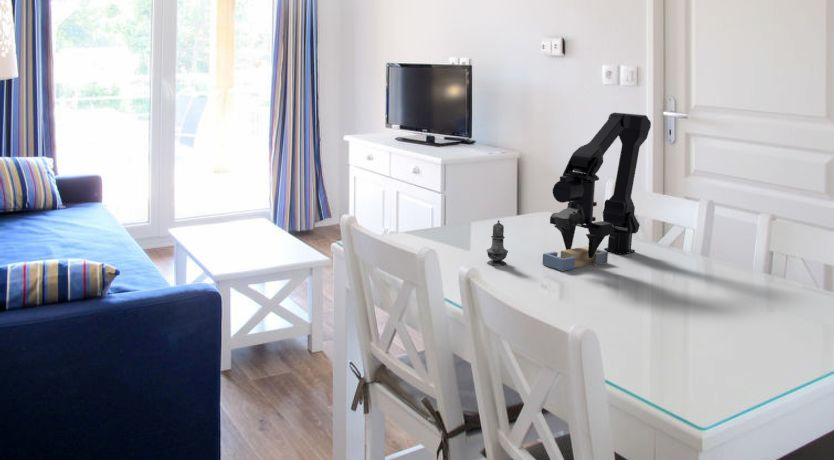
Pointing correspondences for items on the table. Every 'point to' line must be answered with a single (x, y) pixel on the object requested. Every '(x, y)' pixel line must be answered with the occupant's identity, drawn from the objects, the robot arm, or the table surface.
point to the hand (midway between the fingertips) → (579, 254)
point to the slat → (578, 255)
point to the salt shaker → (497, 247)
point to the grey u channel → (600, 257)
